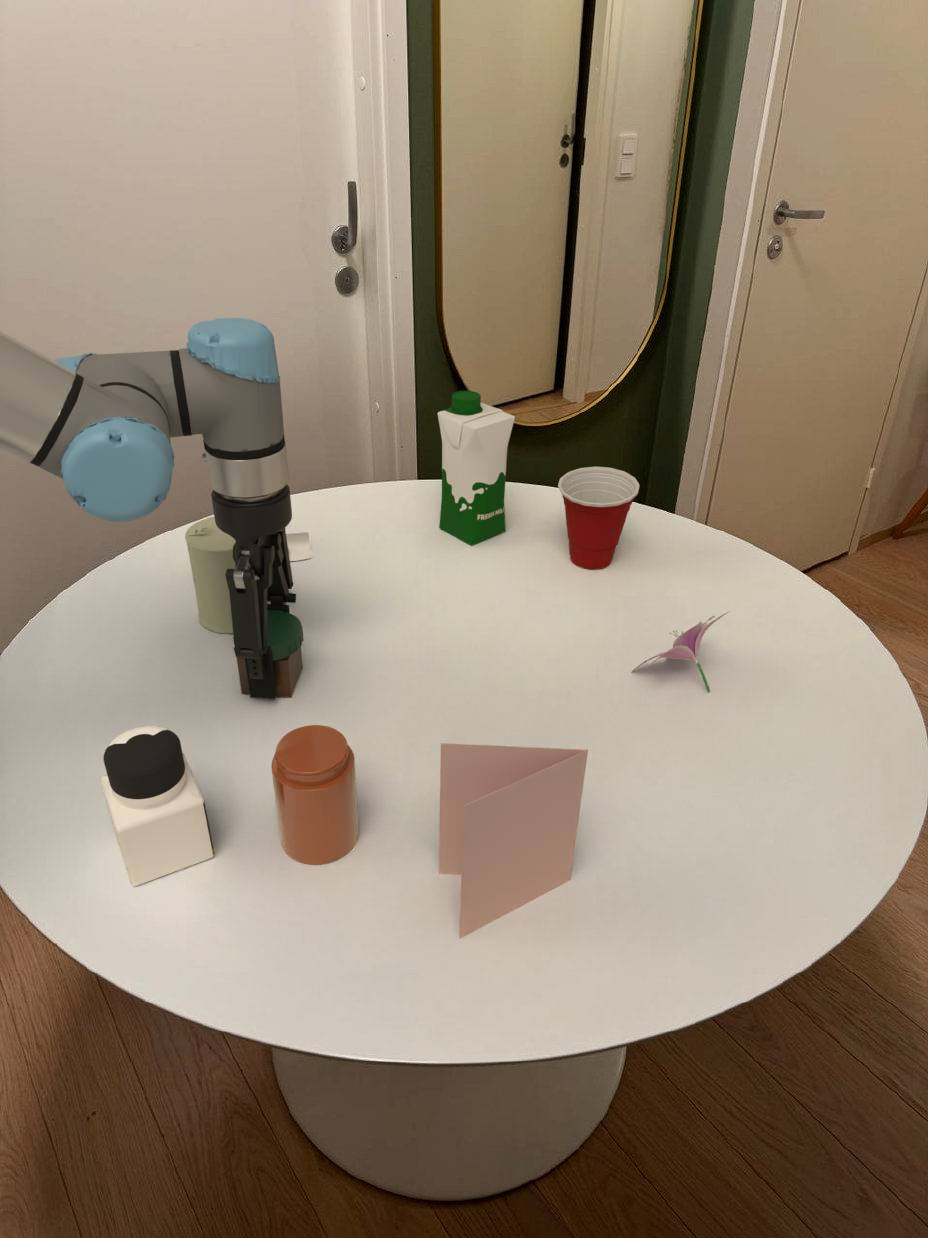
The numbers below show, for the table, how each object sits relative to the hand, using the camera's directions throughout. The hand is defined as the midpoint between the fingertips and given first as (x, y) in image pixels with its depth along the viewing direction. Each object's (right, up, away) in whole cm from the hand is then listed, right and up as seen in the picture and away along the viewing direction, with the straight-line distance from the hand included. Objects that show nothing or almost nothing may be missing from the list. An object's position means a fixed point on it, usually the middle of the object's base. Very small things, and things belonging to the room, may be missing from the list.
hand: (272, 673), depth 98 cm
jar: (+8, -14, -18) cm, 24 cm away
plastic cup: (+39, +14, +26) cm, 49 cm away
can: (-7, +7, +12) cm, 15 cm away
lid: (0, +5, -3) cm, 6 cm away
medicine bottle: (-5, -14, -20) cm, 25 cm away
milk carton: (+23, +19, +32) cm, 44 cm away
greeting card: (+25, -18, -24) cm, 39 cm away
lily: (+46, -1, +3) cm, 46 cm away
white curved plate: (-4, +15, +24) cm, 29 cm away
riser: (0, -1, 0) cm, 1 cm away
